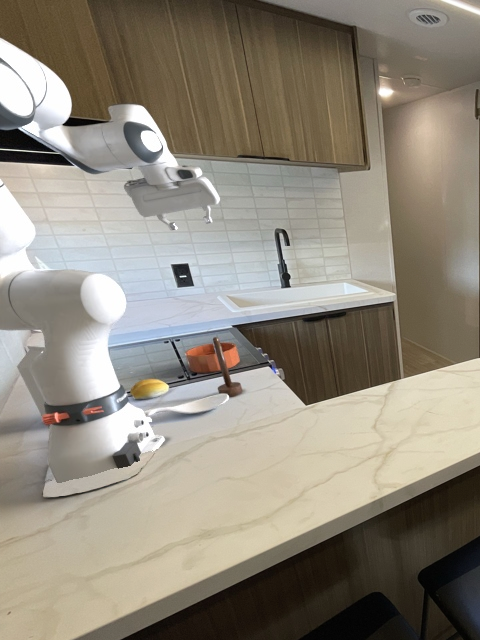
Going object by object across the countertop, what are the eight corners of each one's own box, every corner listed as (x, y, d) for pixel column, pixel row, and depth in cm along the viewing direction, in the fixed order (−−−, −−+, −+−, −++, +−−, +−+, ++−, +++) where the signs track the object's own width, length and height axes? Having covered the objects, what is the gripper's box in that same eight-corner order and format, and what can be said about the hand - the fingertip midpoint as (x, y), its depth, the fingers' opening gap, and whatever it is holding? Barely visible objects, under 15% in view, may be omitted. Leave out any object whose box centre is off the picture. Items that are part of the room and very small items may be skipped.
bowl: (240, 368, 134) (235, 351, 132) (188, 377, 127) (182, 359, 125) (240, 356, 145) (236, 340, 143) (192, 363, 138) (187, 346, 136)
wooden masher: (242, 394, 115) (226, 338, 108) (219, 399, 112) (201, 341, 105) (242, 388, 119) (227, 333, 112) (220, 392, 116) (203, 336, 110)
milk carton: (66, 425, 99) (31, 352, 92) (44, 422, 100) (8, 350, 93) (98, 411, 106) (67, 343, 98) (77, 409, 107) (45, 341, 100)
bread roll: (137, 403, 110) (132, 390, 108) (129, 394, 115) (124, 382, 114) (174, 393, 116) (169, 380, 114) (165, 385, 121) (160, 373, 120)
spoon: (69, 436, 94) (62, 423, 93) (228, 397, 113) (224, 386, 112) (63, 453, 88) (56, 439, 86) (233, 409, 106) (229, 397, 105)
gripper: (115, 183, 105) (148, 236, 113) (201, 169, 110) (227, 221, 118) (124, 180, 110) (155, 231, 118) (206, 166, 114) (230, 216, 123)
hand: (192, 226), depth 118 cm, fingers open, 8 cm apart
